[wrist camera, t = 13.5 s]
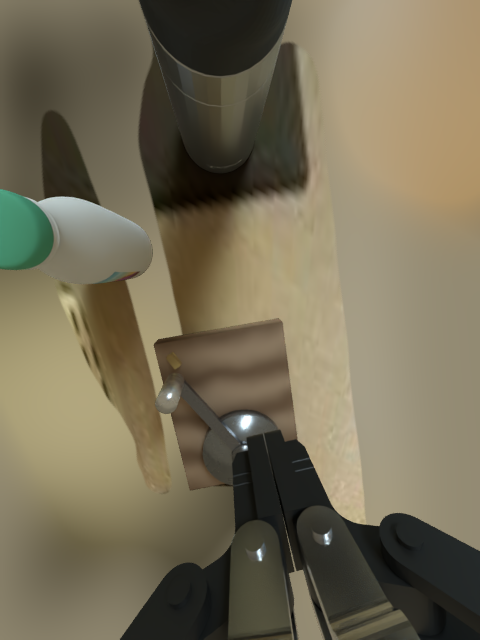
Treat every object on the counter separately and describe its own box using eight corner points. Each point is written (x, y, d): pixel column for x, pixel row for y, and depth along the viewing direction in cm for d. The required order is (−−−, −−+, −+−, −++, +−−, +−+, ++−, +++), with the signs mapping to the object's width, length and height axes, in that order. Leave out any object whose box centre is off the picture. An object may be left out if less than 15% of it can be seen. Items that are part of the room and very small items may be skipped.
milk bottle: (108, 208, 33) (-59, 124, 13) (163, 237, 34) (85, 200, 15) (86, 262, 34) (-96, 258, 14) (140, 288, 35) (39, 317, 16)
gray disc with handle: (296, 448, 39) (314, 492, 32) (235, 491, 40) (239, 543, 33) (206, 342, 35) (201, 363, 27) (139, 393, 36) (117, 428, 28)
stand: (158, 339, 37) (151, 346, 33) (278, 318, 38) (284, 323, 34) (191, 477, 42) (189, 496, 39) (296, 457, 43) (303, 473, 39)
